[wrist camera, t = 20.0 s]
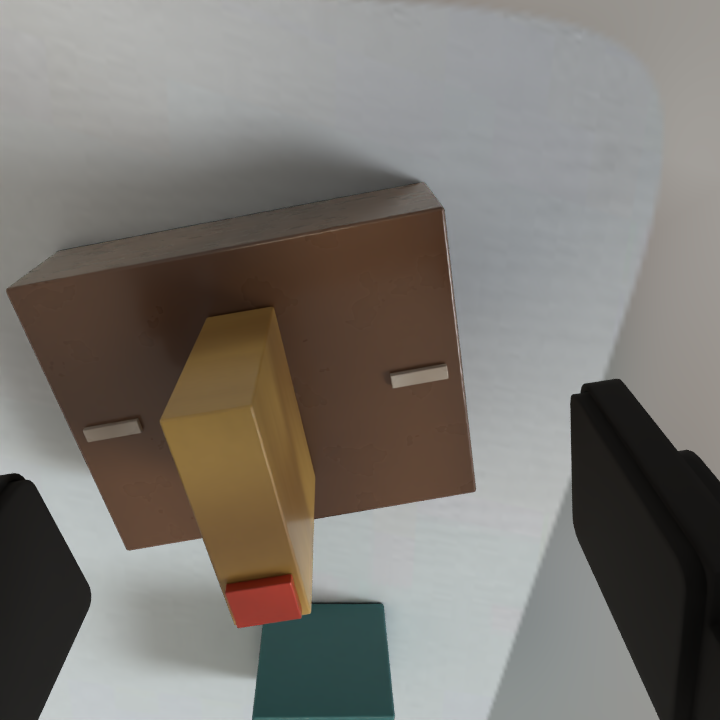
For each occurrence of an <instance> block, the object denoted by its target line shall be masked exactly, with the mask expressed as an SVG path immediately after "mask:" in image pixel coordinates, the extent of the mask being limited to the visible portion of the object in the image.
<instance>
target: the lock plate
mask: <svg viewBox="0 0 720 720" xmlns="http://www.w3.org/2000/svg"><path fill="white" fill-rule="evenodd" d="M6 292H7V295H8V297H9V299H10V301H11V303H12V305H13V307H14V310H15V312H16V314H17V316H18V318H19V320H20V322H21V325H22V327H23V329H24V331H25V333H26V335H27V337H28V340H29V342H30V344H31V346H32V348H33V350H34V352H35V355H36V357H37V359H38V361H39V363H40V365H41V367H42V370H43V372H44V374H45V376H46V378H47V380H48V382H49V385H50V387H51V389H52V391H53V393H54V395H55V397H56V400H57V402H58V404H59V406H60V408H61V410H62V412H63V415H64V417H65V419H66V421H67V423H68V425H69V427H70V430H71V432H72V434H73V436H74V438H75V440H76V442H77V445H78V447H79V449H80V451H81V453H82V455H83V457H84V459H85V462H86V464H87V466H88V468H89V470H90V472H91V474H92V477H93V479H94V481H95V483H96V485H97V487H98V489H99V492H100V494H101V496H102V498H103V500H104V502H105V504H106V507H107V509H108V511H109V513H110V515H111V517H112V519H113V522H114V524H115V526H116V528H117V530H118V532H119V534H120V537H121V539H122V541H123V543H124V545H125V547H126V549H127V550H135V549H141V548H147V547H153V546H159V545H164V544H170V543H176V542H182V541H188V540H194V539H200V538H202V535H201V533H200V530H199V527H198V525H197V522H196V519H195V517H194V514H193V511H192V508H191V506H190V503H189V500H188V498H187V495H186V492H185V490H184V487H183V484H182V481H181V479H180V476H179V473H178V471H177V468H176V465H175V462H174V460H173V457H172V454H171V452H170V449H169V446H168V444H167V441H166V438H165V435H164V433H163V430H162V427H161V425H160V419H161V416H162V414H163V412H164V410H165V408H166V406H167V403H168V401H169V399H170V397H171V395H172V392H173V390H174V388H175V386H176V384H177V382H178V379H179V377H180V375H181V373H182V371H183V368H184V366H185V364H186V362H187V360H188V358H189V355H190V353H191V351H192V349H193V347H194V344H195V342H196V340H197V338H198V336H199V334H200V331H201V329H202V327H203V325H204V323H205V321H206V318H208V317H214V316H219V315H225V314H231V313H237V312H243V311H249V310H255V309H260V308H266V307H273V308H274V310H275V314H276V318H277V322H278V326H279V330H280V335H281V339H282V343H283V347H284V351H285V355H286V359H287V363H288V367H289V371H290V375H291V380H292V384H293V388H294V392H295V396H296V400H297V404H298V408H299V412H300V416H301V420H302V425H303V429H304V433H305V437H306V441H307V445H308V449H309V453H310V457H311V461H312V465H313V470H314V474H315V502H314V519H318V518H324V517H330V516H335V515H341V514H347V513H353V512H359V511H365V510H371V509H377V508H383V507H389V506H394V505H400V504H406V503H412V502H418V501H424V500H430V499H436V498H442V497H447V496H453V495H459V494H465V493H471V492H475V491H476V484H475V475H474V466H473V458H472V449H471V440H470V431H469V422H468V413H467V405H466V396H465V387H464V378H463V369H462V360H461V352H460V343H459V334H458V325H457V316H456V307H455V299H454V290H453V281H452V272H451V263H450V254H449V246H448V237H447V228H446V219H445V210H444V208H443V206H442V205H441V204H440V202H439V201H438V200H437V198H436V197H435V196H434V194H433V193H432V192H431V190H430V189H429V188H428V186H427V185H426V184H425V183H424V182H421V183H416V184H410V185H405V186H400V187H395V188H389V189H384V190H379V191H373V192H368V193H363V194H357V195H352V196H347V197H342V198H336V199H331V200H326V201H320V202H315V203H310V204H305V205H299V206H294V207H289V208H283V209H278V210H273V211H268V212H262V213H257V214H252V215H246V216H241V217H236V218H231V219H225V220H220V221H215V222H209V223H204V224H199V225H193V226H188V227H183V228H178V229H172V230H167V231H162V232H156V233H151V234H146V235H141V236H135V237H130V238H125V239H119V240H114V241H109V242H104V243H98V244H93V245H88V246H82V247H77V248H72V249H66V250H61V251H57V252H56V253H55V254H53V255H52V256H51V257H49V258H48V259H47V260H45V261H44V262H42V263H41V264H40V265H38V266H37V267H36V268H34V269H33V270H32V271H30V272H29V273H27V274H26V275H25V276H23V277H22V278H21V279H19V280H18V281H17V282H15V283H14V284H12V285H11V286H10V287H8V288H7V289H6Z"/></svg>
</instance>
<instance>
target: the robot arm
mask: <svg viewBox="0 0 720 720" xmlns="http://www.w3.org/2000/svg"><path fill="white" fill-rule="evenodd" d="M570 408H571V460H572V508H573V509H572V511H573V524H574V528H575V532H576V536H577V538H578V541H579V543H580V545H581V547H582V550H583V552H584V554H585V556H586V559H587V561H588V563H589V565H590V567H591V570H592V572H593V574H594V576H595V578H596V580H597V582H598V585H599V587H600V589H601V592H602V594H603V596H604V598H605V600H606V602H607V605H608V607H609V609H610V611H611V613H612V616H613V618H614V620H615V622H616V624H617V627H618V629H619V631H620V633H621V636H622V638H623V640H624V642H625V644H626V646H627V649H628V651H629V653H630V655H631V658H632V660H633V662H634V664H635V666H636V669H637V671H638V673H639V675H640V677H641V679H642V682H643V684H644V686H645V688H646V690H647V692H648V695H649V697H650V699H651V701H652V704H653V706H654V708H655V710H656V712H657V715H658V717H659V719H660V720H720V481H719V480H718V479H717V478H716V476H715V475H714V474H713V473H712V472H711V470H710V469H709V468H708V467H707V466H706V465H705V463H704V462H703V461H702V460H701V459H700V458H699V457H698V456H697V455H696V454H695V453H694V452H692V451H689V450H683V451H677V450H676V448H675V447H674V446H673V445H672V443H671V442H670V441H669V439H668V438H667V437H666V436H665V435H664V433H663V432H662V431H661V429H660V428H659V427H658V426H657V424H656V423H655V422H654V421H653V419H652V418H651V417H650V416H649V414H648V413H647V412H646V411H645V409H644V408H643V407H642V405H641V404H640V403H639V402H638V401H637V399H636V398H635V397H634V395H633V394H632V393H631V392H630V391H629V389H628V388H627V387H626V385H625V384H624V383H623V382H622V381H621V380H620V379H612V380H606V381H599V382H593V383H586V384H583V385H582V388H581V393H579V394H573V395H572V396H571V402H570ZM90 603H91V590H90V587H89V584H88V583H87V581H86V579H85V577H84V575H83V573H82V571H81V570H80V568H79V566H78V564H77V562H76V560H75V558H74V557H73V555H72V553H71V551H70V549H69V547H68V545H67V544H66V542H65V540H64V538H63V536H62V534H61V532H60V531H59V529H58V527H57V525H56V523H55V521H54V519H53V518H52V516H51V514H50V512H49V510H48V508H47V506H46V505H45V503H44V501H43V499H42V497H41V495H40V493H39V492H38V490H37V488H36V486H35V485H34V483H33V482H31V481H30V480H25V478H24V477H23V476H21V475H20V474H16V473H12V474H6V475H0V720H38V719H39V716H40V714H41V712H42V710H43V708H44V706H45V703H46V701H47V699H48V697H49V695H50V692H51V690H52V688H53V686H54V684H55V682H56V679H57V677H58V675H59V673H60V671H61V668H62V666H63V664H64V662H65V660H66V657H67V655H68V653H69V651H70V649H71V647H72V644H73V642H74V640H75V638H76V636H77V633H78V631H79V629H80V627H81V625H82V623H83V620H84V618H85V616H86V614H87V612H88V609H89V607H90Z"/></svg>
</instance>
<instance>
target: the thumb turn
mask: <svg viewBox="0 0 720 720" xmlns="http://www.w3.org/2000/svg"><path fill="white" fill-rule="evenodd" d="M160 425H161V427H162V430H163V433H164V435H165V438H166V441H167V444H168V446H169V449H170V452H171V454H172V457H173V460H174V462H175V465H176V468H177V471H178V473H179V476H180V479H181V481H182V484H183V487H184V490H185V492H186V495H187V498H188V500H189V503H190V506H191V508H192V511H193V514H194V517H195V519H196V522H197V525H198V527H199V530H200V533H201V535H202V538H203V541H204V544H205V546H206V549H207V552H208V554H209V557H210V560H211V563H212V565H213V568H214V571H215V573H216V576H217V579H218V581H219V584H220V587H221V590H222V592H223V595H224V598H225V600H226V603H227V606H228V608H229V611H230V614H231V617H232V619H233V622H234V624H235V625H237V628H243V627H249V626H256V625H262V624H269V623H275V622H281V621H288V620H294V619H301V617H302V615H306V614H310V613H311V601H312V568H313V535H314V502H315V474H314V470H313V465H312V461H311V457H310V453H309V449H308V445H307V441H306V437H305V433H304V429H303V425H302V420H301V416H300V412H299V408H298V404H297V400H296V396H295V392H294V388H293V384H292V380H291V375H290V371H289V367H288V363H287V359H286V355H285V351H284V347H283V343H282V339H281V335H280V330H279V326H278V322H277V318H276V314H275V310H274V308H273V307H266V308H260V309H255V310H249V311H243V312H237V313H231V314H225V315H219V316H214V317H208V318H206V321H205V323H204V325H203V327H202V329H201V331H200V334H199V336H198V338H197V340H196V342H195V344H194V347H193V349H192V351H191V353H190V355H189V358H188V360H187V362H186V364H185V366H184V368H183V371H182V373H181V375H180V377H179V379H178V382H177V384H176V386H175V388H174V390H173V392H172V395H171V397H170V399H169V401H168V403H167V406H166V408H165V410H164V412H163V414H162V416H161V419H160Z"/></svg>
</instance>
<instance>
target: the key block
mask: <svg viewBox="0 0 720 720" xmlns="http://www.w3.org/2000/svg"><path fill="white" fill-rule="evenodd" d="M394 718H395V713H394V703H393V693H392V683H391V673H390V663H389V653H388V643H387V633H386V623H385V613H384V606H383V604H311V613H310V614H306V615H302V617H301V619H294V620H288V621H281V622H275V623H269V624H263V628H262V637H261V645H260V654H259V663H258V671H257V680H256V689H255V697H254V706H253V715H252V720H394Z"/></svg>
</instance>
